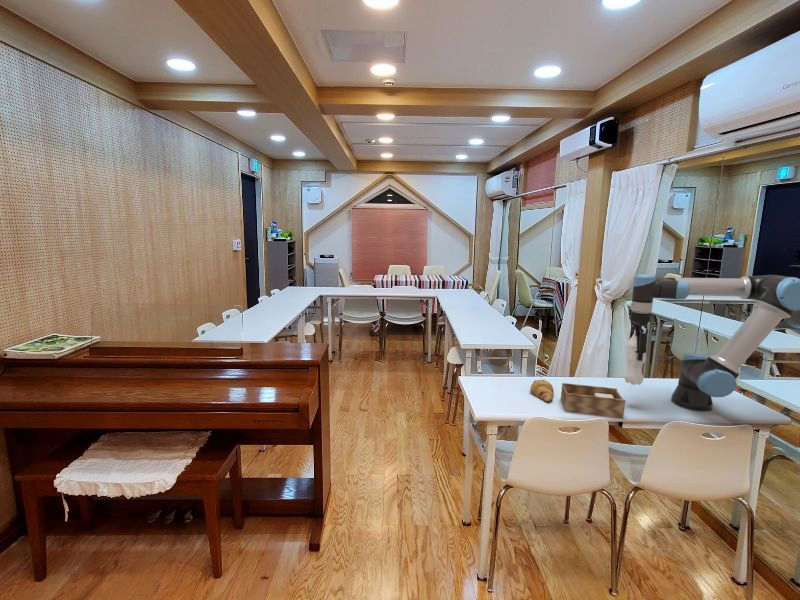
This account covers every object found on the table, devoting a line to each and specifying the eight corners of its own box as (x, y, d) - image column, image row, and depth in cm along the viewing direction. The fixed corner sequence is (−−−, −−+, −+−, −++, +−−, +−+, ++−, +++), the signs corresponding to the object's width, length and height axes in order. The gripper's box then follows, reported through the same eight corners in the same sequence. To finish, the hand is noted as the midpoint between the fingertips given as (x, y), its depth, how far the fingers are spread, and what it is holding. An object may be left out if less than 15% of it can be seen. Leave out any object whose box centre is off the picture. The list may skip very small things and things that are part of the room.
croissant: (554, 411, 181) (564, 396, 179) (535, 400, 180) (545, 385, 179) (540, 392, 202) (549, 378, 200) (522, 382, 201) (531, 368, 200)
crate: (614, 407, 178) (616, 388, 176) (623, 420, 165) (625, 400, 164) (560, 401, 183) (562, 382, 181) (564, 413, 170) (566, 394, 169)
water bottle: (642, 382, 177) (649, 325, 173) (642, 387, 171) (649, 328, 167) (623, 378, 181) (629, 323, 177) (623, 383, 175) (629, 326, 171)
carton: (610, 406, 177) (611, 394, 176) (616, 416, 167) (618, 403, 166) (593, 404, 178) (594, 392, 177) (598, 414, 169) (599, 401, 168)
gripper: (624, 307, 181) (618, 357, 185) (638, 315, 162) (632, 371, 166) (642, 308, 180) (637, 358, 183) (660, 316, 160) (653, 373, 164)
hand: (635, 364), depth 174 cm, fingers closed on water bottle, 7 cm apart
